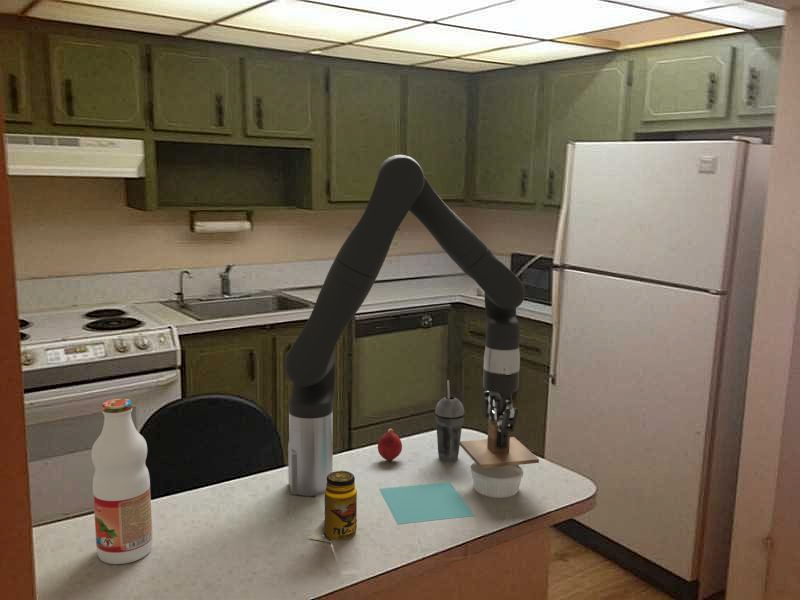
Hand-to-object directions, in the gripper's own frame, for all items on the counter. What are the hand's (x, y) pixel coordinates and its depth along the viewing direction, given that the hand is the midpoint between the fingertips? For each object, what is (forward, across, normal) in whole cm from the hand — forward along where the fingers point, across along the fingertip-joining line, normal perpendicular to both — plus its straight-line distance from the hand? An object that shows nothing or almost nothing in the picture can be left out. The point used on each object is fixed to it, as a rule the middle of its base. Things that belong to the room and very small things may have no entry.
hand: (498, 444), depth 154 cm
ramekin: (+11, 0, 0) cm, 11 cm away
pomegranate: (+11, -20, -19) cm, 30 cm away
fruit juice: (+11, +9, -75) cm, 76 cm away
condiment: (+11, +11, -37) cm, 40 cm away
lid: (+2, 0, 0) cm, 2 cm away
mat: (+10, +3, -17) cm, 20 cm away
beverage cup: (+11, -18, -5) cm, 22 cm away
